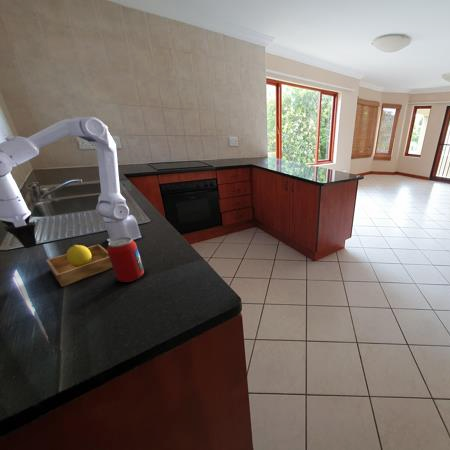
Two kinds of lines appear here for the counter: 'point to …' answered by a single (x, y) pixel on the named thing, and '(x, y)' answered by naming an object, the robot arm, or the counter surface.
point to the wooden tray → (72, 274)
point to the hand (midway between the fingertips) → (28, 242)
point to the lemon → (79, 255)
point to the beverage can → (125, 259)
